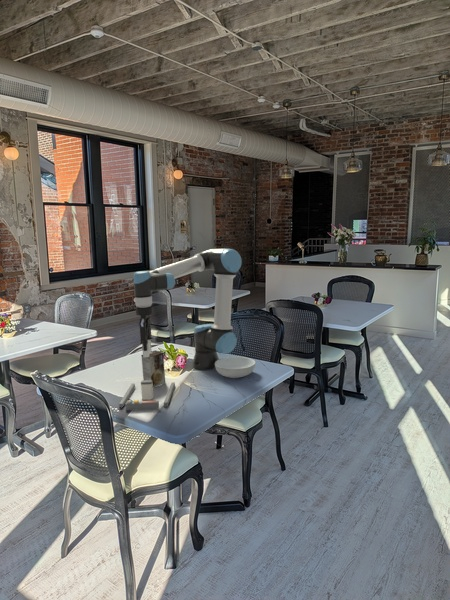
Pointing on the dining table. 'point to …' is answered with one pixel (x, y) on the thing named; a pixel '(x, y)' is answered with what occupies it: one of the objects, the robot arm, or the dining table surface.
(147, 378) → the coffee box
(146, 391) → the switch lever
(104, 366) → the dining table surface
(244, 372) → the serving bowl
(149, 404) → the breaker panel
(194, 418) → the dining table surface
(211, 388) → the dining table surface
